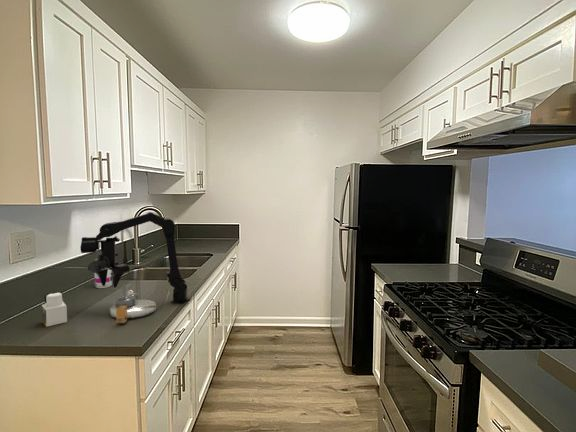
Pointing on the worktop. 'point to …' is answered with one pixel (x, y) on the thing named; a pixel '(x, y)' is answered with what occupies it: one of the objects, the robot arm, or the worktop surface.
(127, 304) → the cover
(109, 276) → the supplement can
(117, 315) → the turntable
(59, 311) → the medicine bottle
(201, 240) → the worktop surface
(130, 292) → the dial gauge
